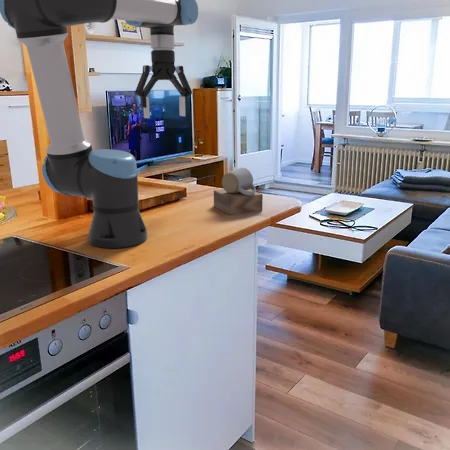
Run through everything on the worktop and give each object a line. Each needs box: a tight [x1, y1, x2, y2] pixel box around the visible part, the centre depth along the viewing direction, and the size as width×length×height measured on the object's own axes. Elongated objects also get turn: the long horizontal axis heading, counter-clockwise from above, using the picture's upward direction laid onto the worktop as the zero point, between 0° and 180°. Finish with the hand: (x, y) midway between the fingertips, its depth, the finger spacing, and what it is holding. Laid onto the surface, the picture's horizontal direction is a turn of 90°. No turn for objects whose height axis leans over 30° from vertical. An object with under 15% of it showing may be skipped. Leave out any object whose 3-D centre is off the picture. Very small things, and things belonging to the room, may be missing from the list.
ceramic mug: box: [221, 167, 257, 196], centre depth 155 cm, size 11×8×8 cm
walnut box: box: [213, 188, 263, 216], centre depth 158 cm, size 12×12×6 cm
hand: (165, 117), depth 161 cm, fingers open, 13 cm apart
